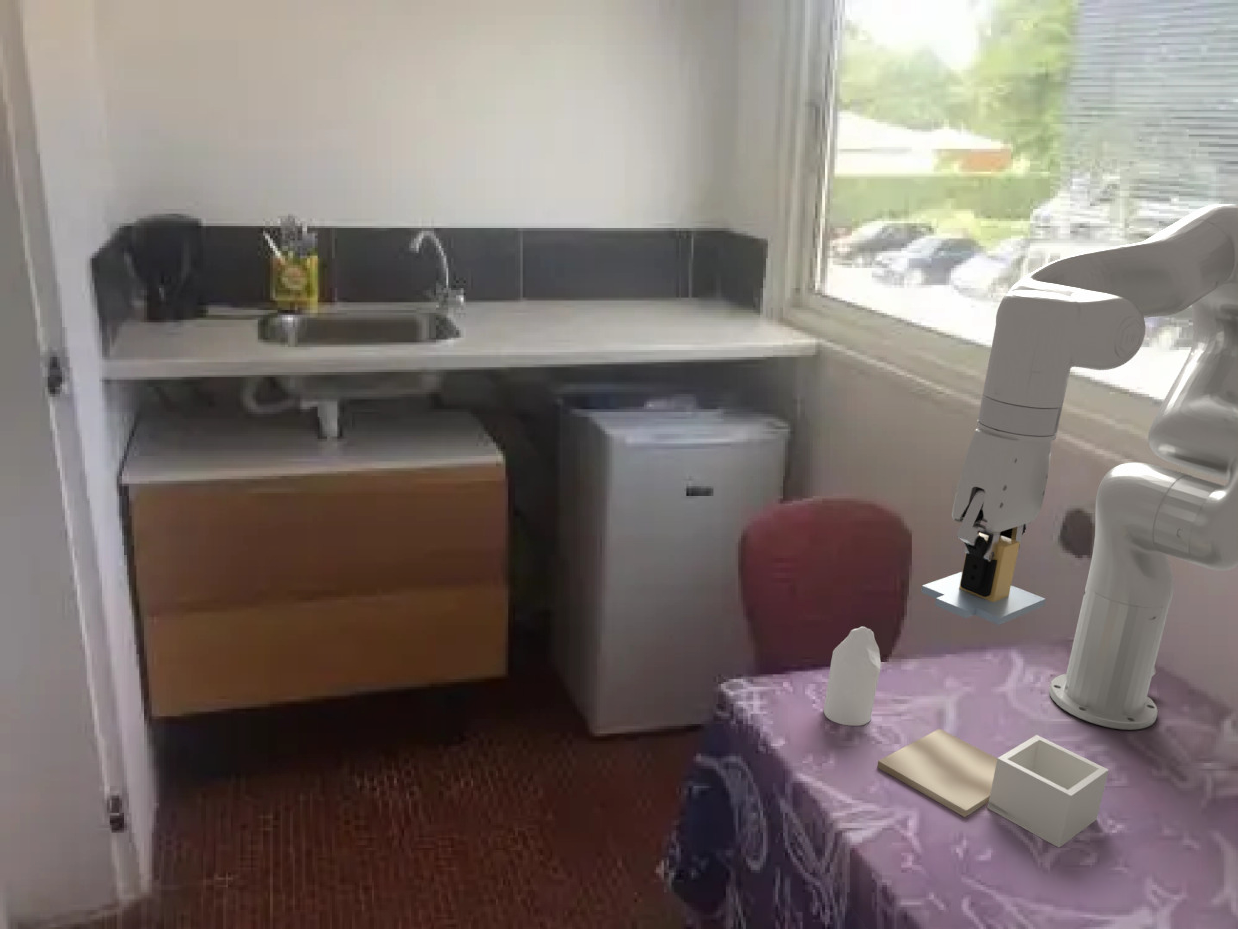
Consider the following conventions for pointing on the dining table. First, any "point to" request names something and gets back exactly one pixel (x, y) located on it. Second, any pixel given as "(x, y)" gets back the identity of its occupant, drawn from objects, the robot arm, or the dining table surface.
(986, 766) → the board
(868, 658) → the white faceted top cylinder
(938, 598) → the lid
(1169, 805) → the dining table surface
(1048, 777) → the tub
